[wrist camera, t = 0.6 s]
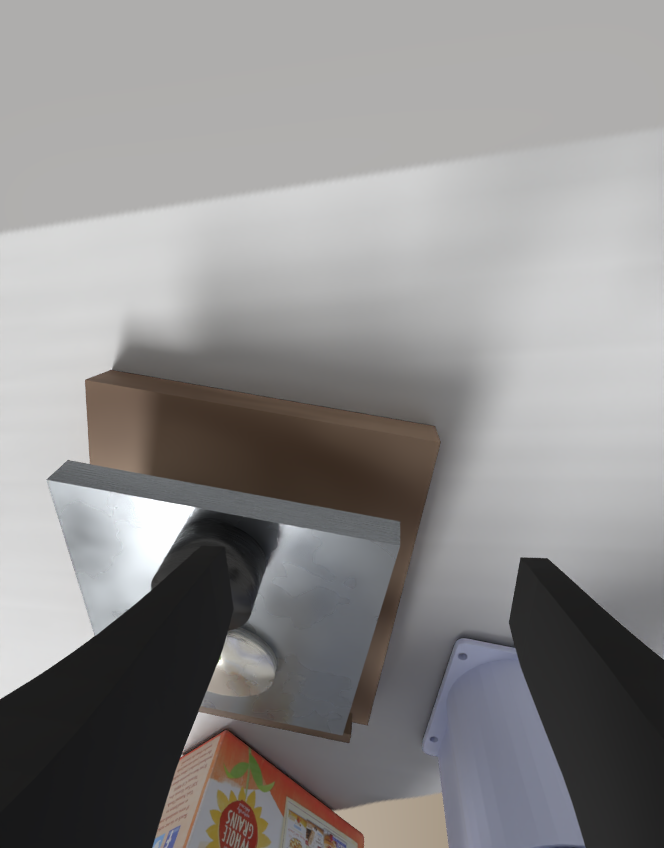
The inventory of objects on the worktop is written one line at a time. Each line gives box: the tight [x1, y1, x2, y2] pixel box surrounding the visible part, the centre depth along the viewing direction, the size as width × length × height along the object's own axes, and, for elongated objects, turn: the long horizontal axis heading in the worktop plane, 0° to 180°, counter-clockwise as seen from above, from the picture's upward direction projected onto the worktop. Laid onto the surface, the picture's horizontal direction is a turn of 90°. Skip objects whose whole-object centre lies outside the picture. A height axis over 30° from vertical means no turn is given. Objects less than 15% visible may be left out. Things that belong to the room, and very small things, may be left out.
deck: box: [47, 460, 400, 736], centre depth 19 cm, size 15×13×3 cm
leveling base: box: [85, 370, 441, 743], centre depth 22 cm, size 18×16×3 cm
